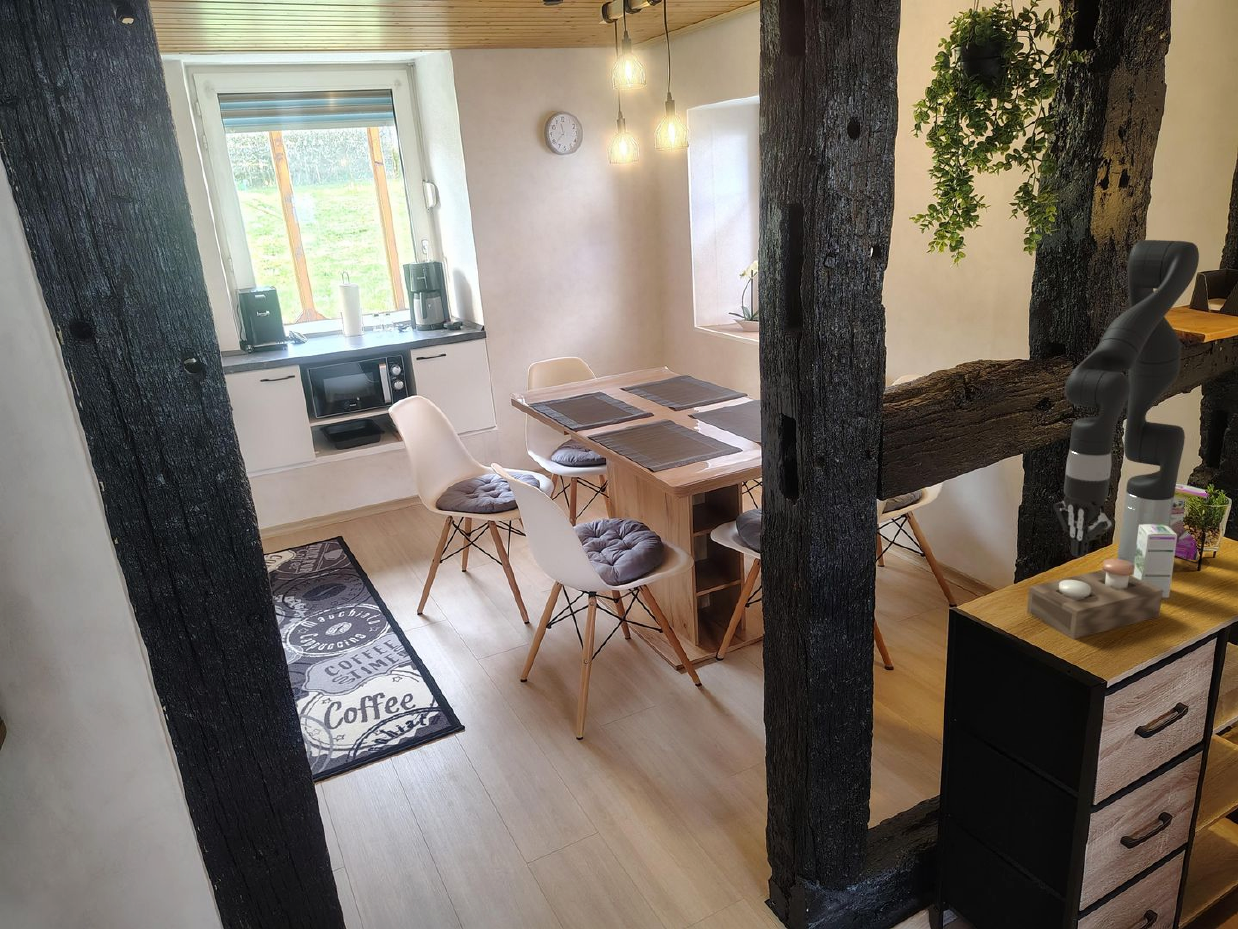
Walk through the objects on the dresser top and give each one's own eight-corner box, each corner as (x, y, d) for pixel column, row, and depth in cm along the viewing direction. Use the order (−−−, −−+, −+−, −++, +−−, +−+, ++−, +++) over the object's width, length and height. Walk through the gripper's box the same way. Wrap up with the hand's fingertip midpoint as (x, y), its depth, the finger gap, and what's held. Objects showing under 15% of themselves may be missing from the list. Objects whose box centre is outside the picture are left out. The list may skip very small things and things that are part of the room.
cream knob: (1070, 609, 177) (1074, 577, 175) (1093, 621, 172) (1097, 588, 170) (1049, 615, 175) (1052, 583, 173) (1071, 627, 170) (1075, 594, 168)
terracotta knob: (1113, 588, 180) (1117, 556, 178) (1136, 599, 175) (1141, 567, 172) (1092, 593, 178) (1096, 561, 176) (1115, 604, 173) (1120, 572, 171)
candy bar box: (1144, 549, 205) (1153, 484, 200) (1155, 543, 207) (1164, 479, 202) (1195, 564, 196) (1206, 496, 191) (1206, 558, 198) (1217, 491, 193)
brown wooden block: (1108, 593, 184) (1112, 567, 183) (1159, 616, 173) (1163, 589, 172) (1026, 613, 178) (1029, 586, 176) (1073, 639, 167) (1077, 611, 165)
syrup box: (1170, 598, 181) (1179, 534, 176) (1139, 597, 182) (1148, 533, 178) (1159, 586, 186) (1168, 524, 182) (1129, 585, 187) (1138, 523, 183)
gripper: (1132, 479, 160) (1121, 564, 165) (1075, 460, 172) (1066, 540, 177) (1101, 486, 157) (1091, 572, 163) (1045, 466, 169) (1037, 547, 175)
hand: (1078, 555), depth 170 cm, fingers closed
